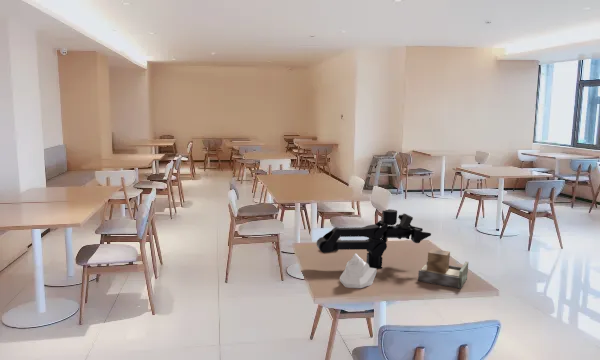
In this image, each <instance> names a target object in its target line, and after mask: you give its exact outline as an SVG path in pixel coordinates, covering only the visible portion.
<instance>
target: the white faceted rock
mask: <svg viewBox="0 0 600 360" xmlns="http://www.w3.org/2000/svg"><path fill="white" fill-rule="evenodd" d="M377 270H378V268H370V267H369V264H368V263H366V261H364V259H363V258H361V257H360V256H359V255H358V253H354V254H352V256H351V259H350V260H348V261H347V263H346V264H345V269H344V270H343V271H342V273H341V274H340V276H339V281H340V283H341V284H342V285H343V286H344V287H345V288H350V289H363V288H366V287H368V286H369V287H370V286H372V285H373V282H374V280H375V278H376V275H377V272H378V271H377Z"/></svg>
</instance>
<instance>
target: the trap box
mask: <svg viewBox="0 0 600 360" xmlns="http://www.w3.org/2000/svg"><path fill="white" fill-rule="evenodd" d="M468 270H469V261H465V262H464V264H462V266H456V265H450V264H449V269H448V271H447V272H446V273H440V272H435V271H429V270H427V264H424V265H423V267H422V268H421V269H420V270H418V273H417V274H418V276H417V281H418V282H423V283H428V284H434V285H438V286H443V287H444V286H445V287H448V288H453V289H454V288H455V289H459V290H461V289H462V288H463V286H464V285H465V283H466V281H467V279H468V272H469V271H468Z"/></svg>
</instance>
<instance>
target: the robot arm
mask: <svg viewBox="0 0 600 360" xmlns="http://www.w3.org/2000/svg"><path fill="white" fill-rule="evenodd" d="M381 212H382V218H381V219H382V220H379V221H377V222H376V223H375V224H368V225H365V226H363V227H362V226H361V227H358V226H356V227H350V226H349V227H347V226H345V227H338V226H335V227H333V228H332V229H331V230H330V231H328V232H326V233H325V234H324V235H323V236H322V237H319V238H318V239H317V241H316V246H317V249H318V250H319V251H320V252H321V253H323V254H328V253H334V252H335V251H339V250H341V251H342V250H343V251H344V250H348V251H349V250H354V251H355V250H361V251H362V250H366V252H367V253H366V260H365V262H366V263H368V264H369V267H370V268H376V269H383V257H382V256H383V255H384V252H385V251H386V250H387V248H388V244H387V242H388V239H398V240H402V239H406V240H411V242H413V243H414V244H420V243H421V241H423V240H425V239H426V238H428V237H431V236H432V233H431V232H427V231H423V228H422V227H418V226H414V225H411V223H412V221H413V219H414V217H413V216H412V215H409V214H407V213H402V214H398V210H396V209H392V208H391V209H384V210H382V211H381ZM397 220H399V223H397V222H398V221H397ZM352 237H353V238H354V237H355V238H357V237H358V238H359V237H360V238H361V237H365V238H367V239H358V240H357V239H341V240H338V239H339V238H352Z"/></svg>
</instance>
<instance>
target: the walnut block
mask: <svg viewBox="0 0 600 360" xmlns="http://www.w3.org/2000/svg"><path fill="white" fill-rule="evenodd" d="M450 257H451V251H448V250H443V249H435V248H431V249H430V250H429V251H428V252H427V261H426V265H427V270H429V271H435V272H440V273H446V272H447V271H448V269H449V265H450Z"/></svg>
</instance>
